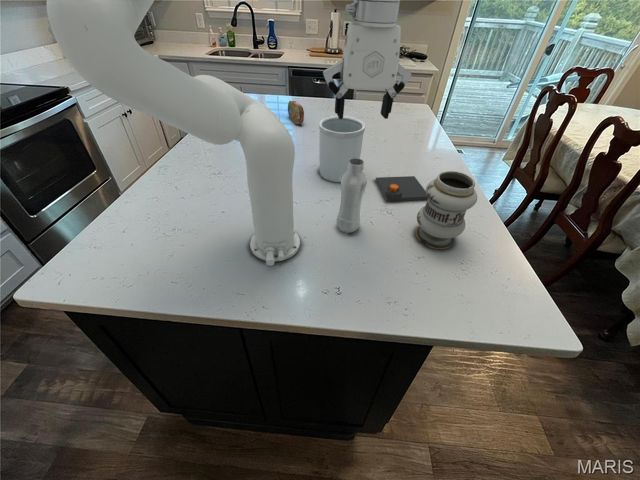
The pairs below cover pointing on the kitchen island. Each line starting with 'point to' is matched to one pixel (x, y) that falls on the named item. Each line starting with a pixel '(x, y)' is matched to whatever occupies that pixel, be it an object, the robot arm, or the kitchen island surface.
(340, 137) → the utensil holder
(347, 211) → the plastic bottle
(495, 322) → the kitchen island surface
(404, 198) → the scale
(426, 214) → the apothecary jar
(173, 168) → the kitchen island surface
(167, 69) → the robot arm
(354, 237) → the kitchen island surface
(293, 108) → the mottled brown slab
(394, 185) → the tare button
